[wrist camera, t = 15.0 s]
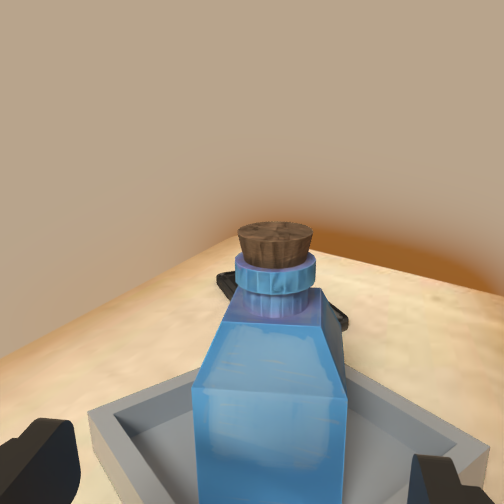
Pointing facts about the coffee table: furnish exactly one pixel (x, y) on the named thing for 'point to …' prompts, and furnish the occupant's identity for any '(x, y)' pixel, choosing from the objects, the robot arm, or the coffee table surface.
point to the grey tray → (355, 458)
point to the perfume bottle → (272, 381)
